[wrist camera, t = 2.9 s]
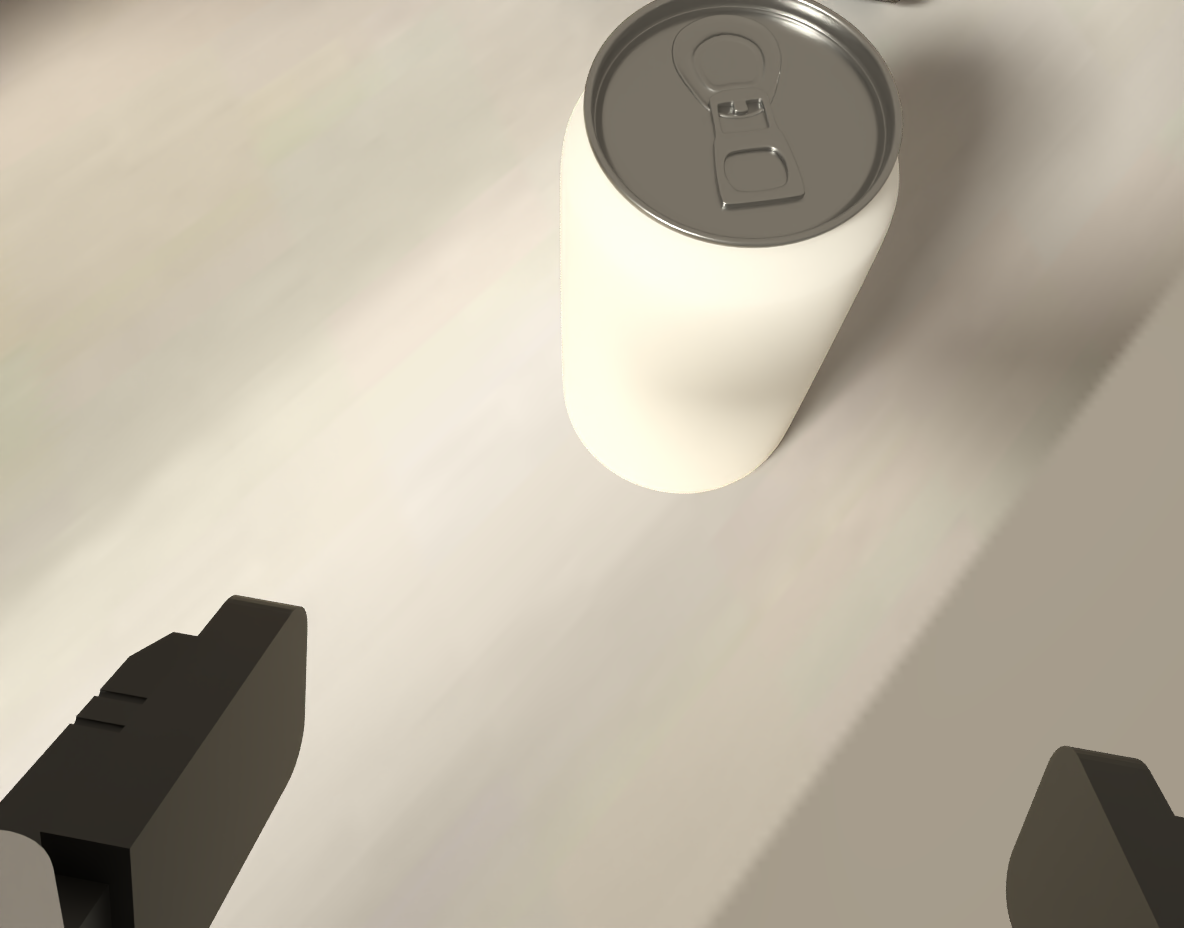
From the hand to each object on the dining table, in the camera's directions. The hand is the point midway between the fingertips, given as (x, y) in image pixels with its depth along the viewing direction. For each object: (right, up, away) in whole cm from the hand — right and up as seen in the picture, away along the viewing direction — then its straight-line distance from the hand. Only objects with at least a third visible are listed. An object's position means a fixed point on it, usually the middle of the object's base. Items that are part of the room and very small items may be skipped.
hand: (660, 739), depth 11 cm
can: (+2, +5, +19) cm, 19 cm away
